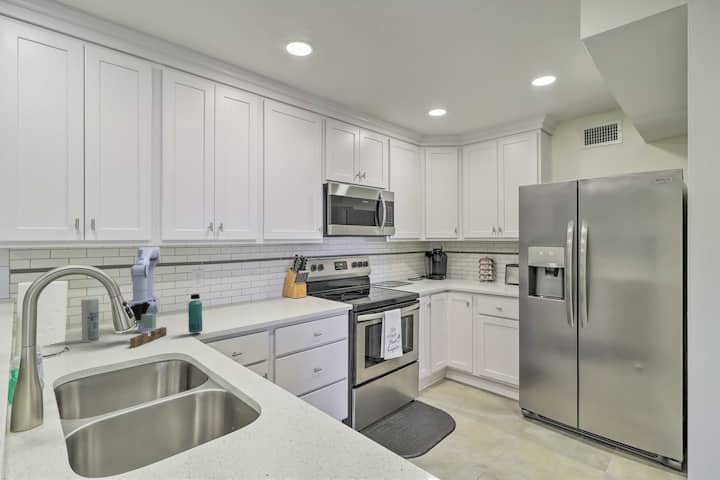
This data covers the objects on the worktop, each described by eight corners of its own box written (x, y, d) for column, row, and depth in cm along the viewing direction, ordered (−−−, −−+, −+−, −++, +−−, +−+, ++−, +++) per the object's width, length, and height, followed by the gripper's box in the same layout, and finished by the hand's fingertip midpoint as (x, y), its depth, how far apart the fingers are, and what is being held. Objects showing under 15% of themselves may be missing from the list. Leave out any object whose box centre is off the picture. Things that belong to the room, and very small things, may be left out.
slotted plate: (125, 327, 170) (125, 314, 170) (129, 326, 172) (128, 313, 172) (152, 328, 167) (152, 315, 167) (155, 327, 169) (155, 314, 169)
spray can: (90, 338, 174) (90, 297, 174) (102, 339, 173) (101, 297, 173) (78, 342, 168) (77, 299, 167) (90, 343, 167) (89, 299, 166)
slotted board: (135, 347, 159) (135, 338, 159) (130, 347, 159) (130, 338, 159) (166, 335, 179) (166, 327, 179) (162, 335, 179) (162, 327, 179)
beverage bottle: (198, 331, 184) (198, 292, 184) (205, 334, 180) (204, 294, 180) (186, 334, 179) (185, 294, 179) (192, 336, 175) (191, 295, 175)
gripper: (143, 288, 177) (144, 316, 177) (119, 292, 163) (120, 322, 163) (156, 288, 176) (157, 316, 176) (133, 293, 162) (134, 323, 162)
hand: (140, 319), depth 169 cm, fingers closed on slotted plate, 2 cm apart
